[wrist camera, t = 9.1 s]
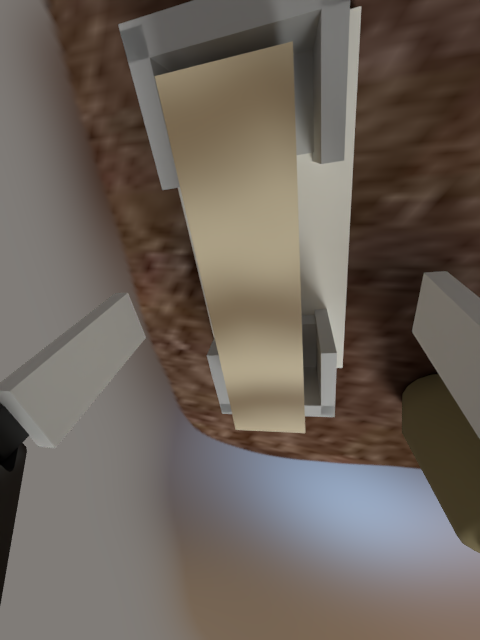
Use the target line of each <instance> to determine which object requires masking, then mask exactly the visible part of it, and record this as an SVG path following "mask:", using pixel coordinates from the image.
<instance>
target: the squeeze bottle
mask: <svg viewBox="0 0 480 640" xmlns="http://www.w3.org/2000/svg"><path fill="white" fill-rule="evenodd" d="M402 434H403V435H404V437H405V439H406V441H407V443H408V445H409V447H410V449H411V450H412V452H413V454H414V456H415V458H416V460H417V462H418V464H419V465H420V467H421V469H422V471H423V473H424V475H425V476H426V478H427V480H428V482H429V484H430V486H431V488H432V490H433V492H434V494H435V495H436V497H437V499H438V501H439V503H440V504H441V507H442V509H443V510H444V512H445V514H446V515H447V518H448V520H449V522H450V523H451V525H452V527H453V529H454V531H455V533H456V534H457V536H458V538H459V539H460V540H461V542H462V543H463V544H465V545H466V546H468V547H470V548H471V549H473V550H475V551H477V552H479V553H480V439H479V437H478V436H477V434H476V433H475V431H474V429H473V428H472V426H471V425H470V423H469V421H468V420H467V418H466V417H465V415H464V414H463V412H462V410H461V409H460V407H459V406H458V404H457V402H456V401H455V399H454V398H453V396H452V394H451V393H450V391H449V390H448V388H447V387H446V385H445V383H444V382H443V380H442V379H441V377H440V375H439V374H434V375H428V376H425V377H422V378H419V379H417V380H416V381H414V382H413V383H411V384H410V385H408V386H407V388H406V389H405V391H404V392H403V394H402Z"/></svg>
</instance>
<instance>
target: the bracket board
mask: <svg viewBox="0 0 480 640" xmlns="http://www.w3.org/2000/svg"><path fill="white" fill-rule="evenodd" d="M360 22H361V6H360V7H356V8H353V9H350V0H193V1H190V2H187V3H184V4H180V5H177V6H174V7H171V8H168V9H165V10H162V11H159V12H156V13H152V14H149V15H146V16H143V17H140V18H137V19H134V20H131V21H127V22H124V23H121V24H118V26H119V30H120V33H121V37H122V41H123V45H124V48H125V52H126V56H127V59H128V63H129V67H130V71H131V74H132V78H133V82H134V86H135V89H136V93H137V97H138V101H139V104H140V108H141V112H142V115H143V119H144V123H145V127H146V130H147V134H148V138H149V142H150V145H151V149H152V153H153V157H154V160H155V164H156V168H157V172H158V175H159V179H160V183H161V186H162V190H167V189H173V188H178V191H179V195H180V199H181V203H182V207H183V212H184V216H185V220H186V224H187V228H188V232H189V237H190V241H191V245H192V249H193V253H194V257H195V261H196V266H197V270H198V274H199V278H200V282H201V286H202V290H203V295H204V299H205V303H206V307H207V311H208V306H207V302H206V298H205V293H204V289H203V285H202V280H201V276H200V272H199V267H198V263H197V258H196V254H195V250H194V245H193V241H192V237H191V232H190V228H189V224H188V219H187V215H186V211H185V206H184V202H183V197H182V193H181V189H180V184H179V180H178V176H177V171H176V167H175V163H174V158H173V154H172V150H171V145H170V141H169V137H168V132H167V128H166V123H165V119H164V115H163V110H162V106H161V102H160V97H159V93H158V89H157V84H156V80H155V76H157V75H161V74H165V73H169V72H173V71H177V70H181V69H185V68H189V67H193V66H197V65H201V64H205V63H209V62H213V61H217V60H221V59H225V58H229V57H233V56H237V55H241V54H245V53H249V52H253V51H256V50H260V49H264V48H268V47H272V46H276V45H280V44H284V43H288V42H292V41H293V62H294V93H295V125H296V156H297V187H298V219H299V250H300V282H301V313H302V345H303V376H304V407H305V416H319V417H335V393H336V368H342V367H343V348H344V329H345V310H346V290H347V271H348V252H349V233H350V214H351V195H352V175H353V156H354V137H355V118H356V99H357V79H358V60H359V41H360ZM208 315H209V311H208ZM209 320H210V324H211V319H210V315H209ZM211 328H212V324H211ZM212 332H213V328H212ZM213 336H214V333H213ZM207 358H208V362H209V366H210V370H211V373H212V377H213V381H214V384H215V388H216V392H217V396H218V399H219V403H220V407H221V411H222V414H232V411H231V407H230V402H229V398H228V393H227V389H226V385H225V380H224V376H223V372H222V367H221V363H220V359H219V354H218V350H217V346H216V341H215V337H214V340H213V342H212V344H211V347H210V349H209V352H208V354H207Z"/></svg>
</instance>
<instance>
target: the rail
mask: <svg viewBox="0 0 480 640" xmlns="http://www.w3.org/2000/svg"><path fill="white" fill-rule="evenodd" d="M155 80H156V84H157V89H158V93H159V97H160V102H161V106H162V110H163V115H164V119H165V123H166V128H167V132H168V137H169V141H170V145H171V150H172V154H173V158H174V163H175V167H176V171H177V176H178V180H179V184H180V189H181V193H182V197H183V202H184V206H185V211H186V215H187V219H188V224H189V228H190V232H191V237H192V241H193V245H194V250H195V254H196V258H197V263H198V267H199V272H200V276H201V280H202V285H203V289H204V293H205V298H206V302H207V306H208V311H209V315H210V319H211V324H212V328H213V333H214V337H215V341H216V346H217V350H218V354H219V359H220V363H221V367H222V372H223V376H224V380H225V385H226V389H227V393H228V398H229V402H230V407H231V411H232V415H233V420H234V424H235V428H236V430H251V431H273V432H294V433H305V407H304V376H303V345H302V313H301V282H300V250H299V219H298V187H297V156H296V125H295V93H294V62H293V41H292V42H288V43H284V44H280V45H276V46H272V47H268V48H264V49H260V50H256V51H253V52H249V53H245V54H241V55H237V56H233V57H229V58H225V59H221V60H217V61H213V62H209V63H205V64H201V65H197V66H193V67H189V68H185V69H181V70H177V71H173V72H169V73H165V74H161V75H157V76H155Z"/></svg>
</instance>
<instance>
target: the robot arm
mask: <svg viewBox="0 0 480 640" xmlns="http://www.w3.org/2000/svg"><path fill="white" fill-rule="evenodd" d="M412 333H413V334H414V336H415V337H416V339H417V341H418V342H419V344H420V345H421V347H422V349H423V350H424V352H425V353H426V355H427V356H428V358H429V360H430V361H431V363H432V364H433V366H434V368H435V369H436V371H437V372H438V374H439V375H440V377H441V379H442V380H443V382H444V383H445V385H446V387H447V388H448V390H449V391H450V393H451V394H452V396H453V398H454V399H455V401H456V402H457V404H458V406H459V407H460V409H461V410H462V412H463V414H464V415H465V417H466V418H467V420H468V421H469V423H470V425H471V426H472V428H473V429H474V431H475V433H476V434H477V436H478V437H479V439H480V298H479V297H478V296H477V295H475V294H474V293H473V292H472V291H471V290H469V289H468V288H467V287H466V286H464V285H463V284H462V283H461V282H459V281H458V280H457V279H456V278H454V277H453V276H452V275H451V274H449V273H448V272H447V271H442V272H427V273H424V275H423V280H422V285H421V290H420V294H419V299H418V304H417V309H416V314H415V319H414V324H413V328H412ZM145 338H146V337H145V334H144V332H143V329H142V327H141V324H140V322H139V319H138V316H137V314H136V311H135V309H134V307H133V304H132V302H131V299H130V296H129V294H128V293H115V294H114V295H112V296H111V297H110V298H108V299H107V300H106V301H105V302H103V303H102V304H101V305H99V306H98V307H97V308H96V309H94V310H93V311H92V312H90V313H89V314H88V315H87V316H85V317H84V318H83V319H81V320H80V321H79V322H78V323H76V324H75V325H74V326H72V327H71V328H70V329H69V330H67V331H66V332H65V333H63V334H62V335H61V336H60V337H58V338H57V339H56V340H54V341H53V342H52V343H51V344H49V345H48V346H47V347H46V348H44V349H43V350H42V351H40V352H39V353H38V354H36V355H35V356H34V357H33V358H31V359H30V360H29V361H27V362H26V363H25V364H24V365H22V366H21V367H20V368H18V369H17V370H16V371H15V372H13V373H12V374H11V375H9V376H8V377H7V378H6V379H4V380H3V381H2V382H0V604H1V598H2V592H3V586H4V581H5V574H6V569H7V563H8V557H9V552H10V546H11V540H12V534H13V529H14V523H15V517H16V511H17V505H18V500H19V494H20V488H21V482H22V476H23V471H24V465H25V459H26V453H27V449H26V446H25V445H24V444H23V443H22V442H23V441H24V440H25V439H26V438H27V437H28V436H30V437H31V439H32V440H33V441H34V442H35V443H36V444H37V445H38V446H39V447H49V448H56V447H57V446H58V445H59V444H60V443H61V441H62V440H63V439H64V437H65V436H66V435H67V434H68V433H69V431H70V430H71V429H72V428H73V426H74V425H75V424H76V423H77V422H78V420H79V419H80V418H81V417H82V416H83V414H84V413H85V412H86V411H87V409H88V408H89V407H90V406H91V404H92V403H93V402H94V401H95V400H96V398H97V397H98V396H99V395H100V393H101V392H102V391H103V390H104V388H105V387H106V386H107V385H108V384H109V382H110V381H111V380H112V379H113V377H114V376H115V375H116V374H117V373H118V371H119V370H120V369H121V367H122V366H123V365H124V364H125V363H126V362H127V360H128V359H129V358H130V357H131V355H132V354H133V353H134V352H135V350H136V349H137V348H138V347H139V346H140V344H141V343H142V342H143V341H144V339H145Z"/></svg>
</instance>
